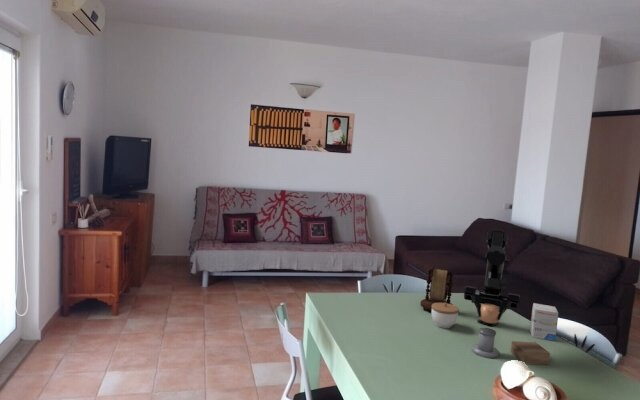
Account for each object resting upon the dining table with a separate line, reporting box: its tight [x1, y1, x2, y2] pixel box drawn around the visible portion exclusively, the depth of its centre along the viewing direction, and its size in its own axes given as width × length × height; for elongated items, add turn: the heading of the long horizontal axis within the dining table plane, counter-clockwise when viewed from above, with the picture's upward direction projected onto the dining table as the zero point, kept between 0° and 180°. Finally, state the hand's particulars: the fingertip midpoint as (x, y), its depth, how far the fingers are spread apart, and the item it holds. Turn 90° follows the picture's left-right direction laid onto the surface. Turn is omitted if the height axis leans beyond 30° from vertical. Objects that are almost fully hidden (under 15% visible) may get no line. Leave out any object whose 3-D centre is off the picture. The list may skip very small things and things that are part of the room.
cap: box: [479, 304, 499, 323], centre depth 160 cm, size 8×6×5 cm
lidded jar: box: [430, 303, 460, 329], centre depth 186 cm, size 11×11×9 cm
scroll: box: [420, 264, 454, 311], centre depth 204 cm, size 15×15×20 cm
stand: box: [510, 340, 551, 365], centre depth 160 cm, size 9×9×4 cm
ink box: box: [529, 302, 559, 342], centre depth 183 cm, size 9×8×12 cm
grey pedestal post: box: [471, 327, 500, 359], centre depth 162 cm, size 9×9×8 cm
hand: (488, 318), depth 160 cm, fingers closed on cap, 6 cm apart
